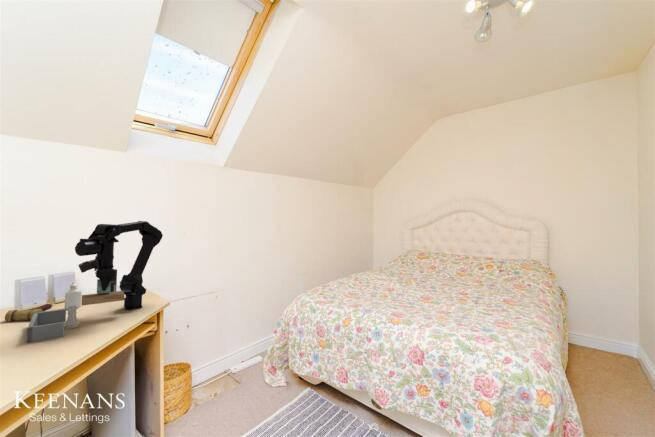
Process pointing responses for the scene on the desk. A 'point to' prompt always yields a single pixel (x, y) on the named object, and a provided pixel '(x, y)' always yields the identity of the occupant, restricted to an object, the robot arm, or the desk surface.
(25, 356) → the desk surface
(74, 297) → the eye dropper bottle
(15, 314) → the gavel
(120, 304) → the desk surface
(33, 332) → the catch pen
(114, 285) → the deodorant
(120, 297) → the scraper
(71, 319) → the rook chess piece
